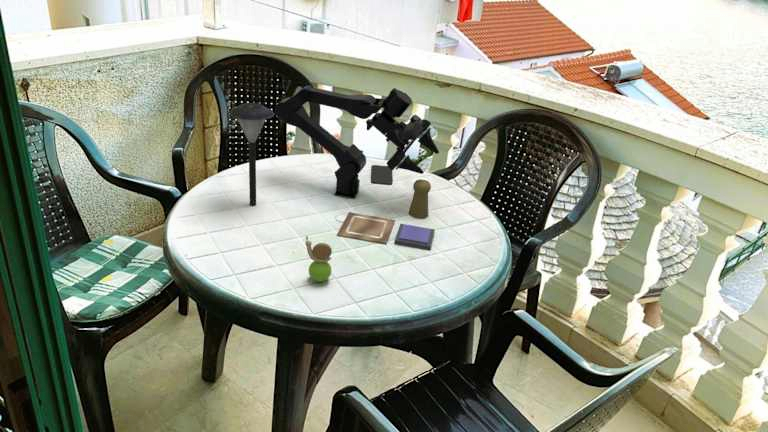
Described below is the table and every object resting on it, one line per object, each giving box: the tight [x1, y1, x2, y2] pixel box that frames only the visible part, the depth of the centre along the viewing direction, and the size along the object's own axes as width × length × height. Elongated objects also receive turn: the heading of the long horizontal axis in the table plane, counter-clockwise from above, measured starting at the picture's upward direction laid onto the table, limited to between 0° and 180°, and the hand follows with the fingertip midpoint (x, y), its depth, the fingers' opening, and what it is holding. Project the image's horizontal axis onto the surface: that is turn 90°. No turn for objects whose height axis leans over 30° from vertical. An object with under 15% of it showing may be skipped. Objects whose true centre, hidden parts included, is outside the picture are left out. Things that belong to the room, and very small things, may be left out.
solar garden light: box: [228, 102, 275, 207], centre depth 163 cm, size 12×12×30 cm
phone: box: [370, 164, 394, 186], centre depth 198 cm, size 7×1×15 cm
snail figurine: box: [305, 235, 333, 283], centre depth 137 cm, size 5×6×12 cm
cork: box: [408, 178, 432, 220], centre depth 172 cm, size 6×6×11 cm
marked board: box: [336, 211, 396, 245], centre depth 164 cm, size 14×14×1 cm
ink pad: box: [393, 223, 436, 251], centre depth 161 cm, size 10×10×2 cm
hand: (430, 162), depth 171 cm, fingers open, 9 cm apart
